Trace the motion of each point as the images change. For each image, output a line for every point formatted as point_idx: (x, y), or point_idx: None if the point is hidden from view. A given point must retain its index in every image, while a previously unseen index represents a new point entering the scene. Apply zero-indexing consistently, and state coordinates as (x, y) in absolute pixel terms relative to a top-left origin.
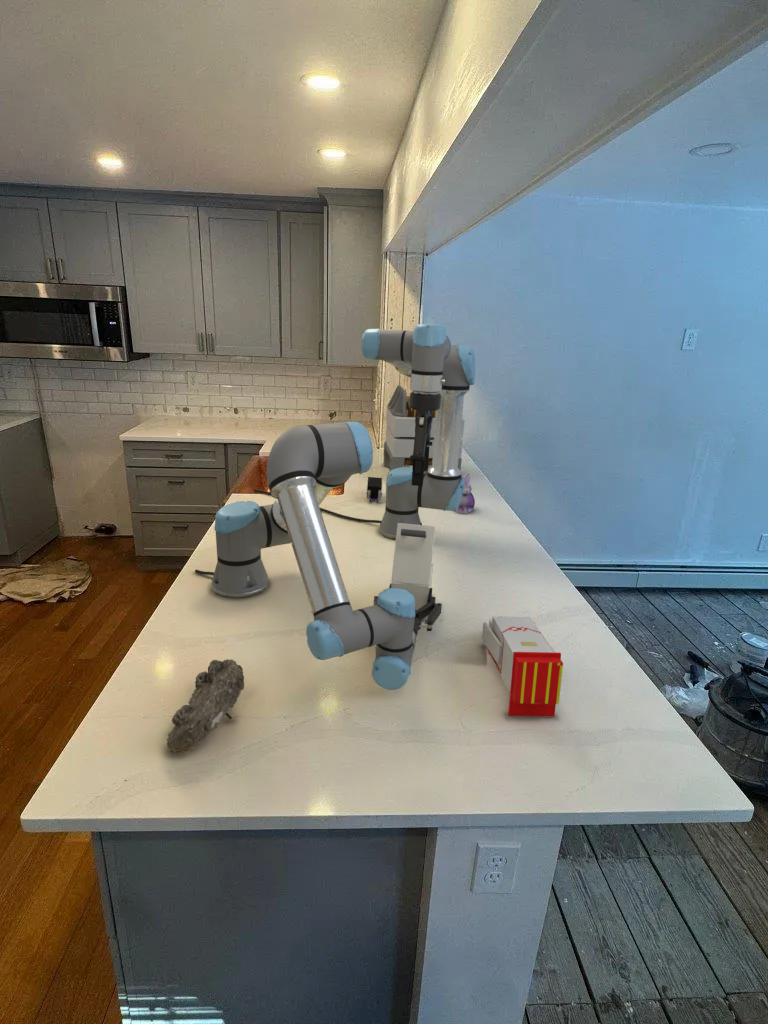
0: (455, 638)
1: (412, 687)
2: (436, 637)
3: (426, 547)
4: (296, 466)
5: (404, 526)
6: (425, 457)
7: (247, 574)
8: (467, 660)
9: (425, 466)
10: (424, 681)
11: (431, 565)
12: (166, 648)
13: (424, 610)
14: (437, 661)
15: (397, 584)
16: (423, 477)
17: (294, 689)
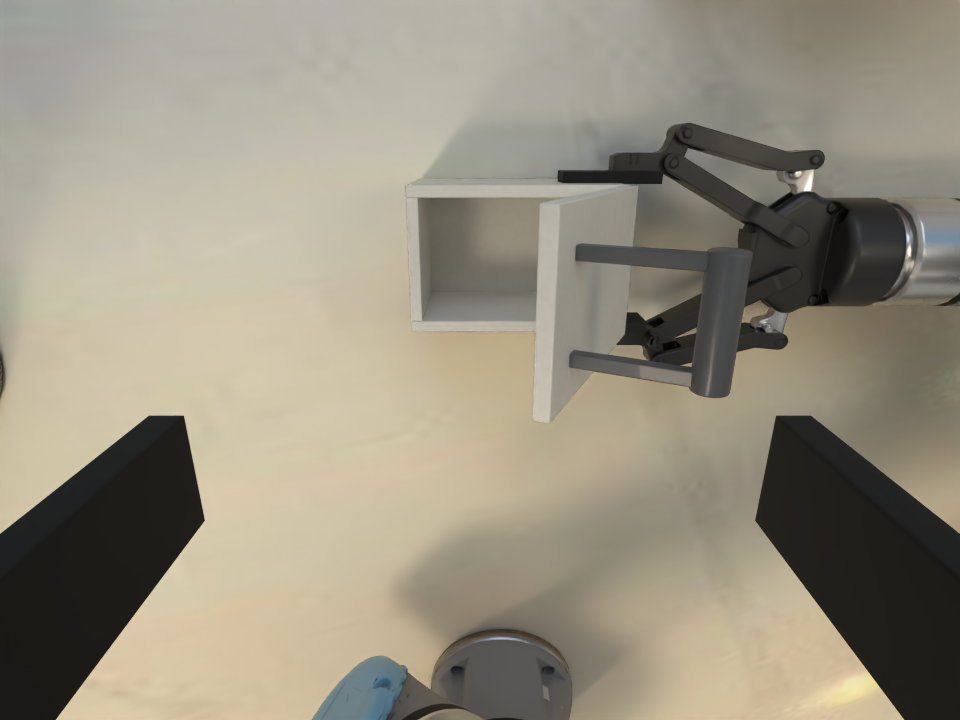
0: (697, 68)
1: (953, 184)
2: None
3: (595, 229)
4: None
5: (557, 380)
6: (78, 560)
7: (547, 704)
8: (824, 20)
9: (156, 472)
10: (928, 153)
11: (422, 191)
12: (790, 708)
13: (732, 187)
14: (831, 122)
15: None
16: (841, 464)
17: (942, 453)
